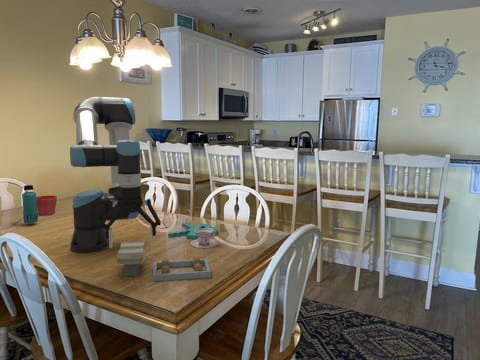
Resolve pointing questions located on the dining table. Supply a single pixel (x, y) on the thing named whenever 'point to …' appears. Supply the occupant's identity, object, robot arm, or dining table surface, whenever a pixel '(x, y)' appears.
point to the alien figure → (191, 231)
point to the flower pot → (46, 205)
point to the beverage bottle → (29, 205)
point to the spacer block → (131, 269)
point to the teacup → (204, 238)
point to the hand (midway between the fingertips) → (131, 246)
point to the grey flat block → (131, 253)
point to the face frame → (166, 275)
